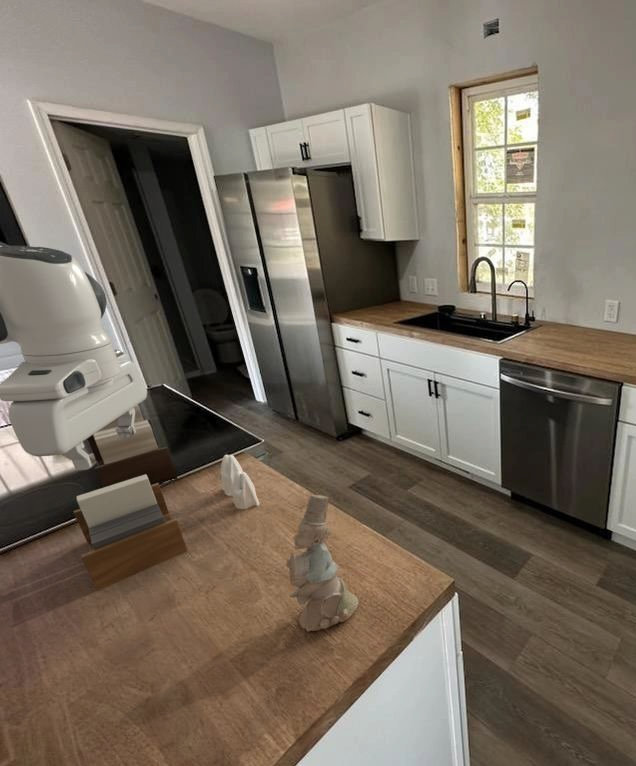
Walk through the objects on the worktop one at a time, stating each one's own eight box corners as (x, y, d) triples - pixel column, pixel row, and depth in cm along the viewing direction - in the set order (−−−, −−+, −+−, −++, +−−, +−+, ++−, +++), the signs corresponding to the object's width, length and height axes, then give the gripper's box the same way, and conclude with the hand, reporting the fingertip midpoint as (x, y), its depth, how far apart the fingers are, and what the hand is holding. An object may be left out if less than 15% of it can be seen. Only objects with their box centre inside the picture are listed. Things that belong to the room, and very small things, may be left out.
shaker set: (222, 494, 92) (210, 452, 88) (243, 486, 95) (232, 444, 91) (241, 519, 85) (228, 473, 81) (263, 509, 88) (252, 465, 84)
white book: (168, 536, 78) (148, 478, 73) (104, 562, 72) (77, 501, 67) (166, 531, 79) (146, 474, 74) (102, 556, 73) (76, 496, 68)
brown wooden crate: (177, 478, 97) (159, 424, 92) (109, 502, 89) (85, 443, 84) (159, 447, 110) (142, 397, 105) (97, 464, 102) (76, 412, 97)
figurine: (345, 580, 71) (329, 483, 64) (365, 612, 65) (349, 510, 58) (289, 609, 66) (264, 506, 58) (306, 647, 60) (281, 539, 52)
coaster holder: (189, 557, 75) (175, 515, 72) (100, 597, 67) (79, 552, 63) (170, 516, 85) (156, 478, 82) (90, 547, 77) (71, 506, 73)
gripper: (100, 346, 67) (127, 422, 72) (-19, 395, 49) (29, 491, 54) (144, 345, 69) (168, 419, 74) (46, 391, 50) (86, 486, 55)
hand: (108, 450), depth 64 cm, fingers open, 8 cm apart
